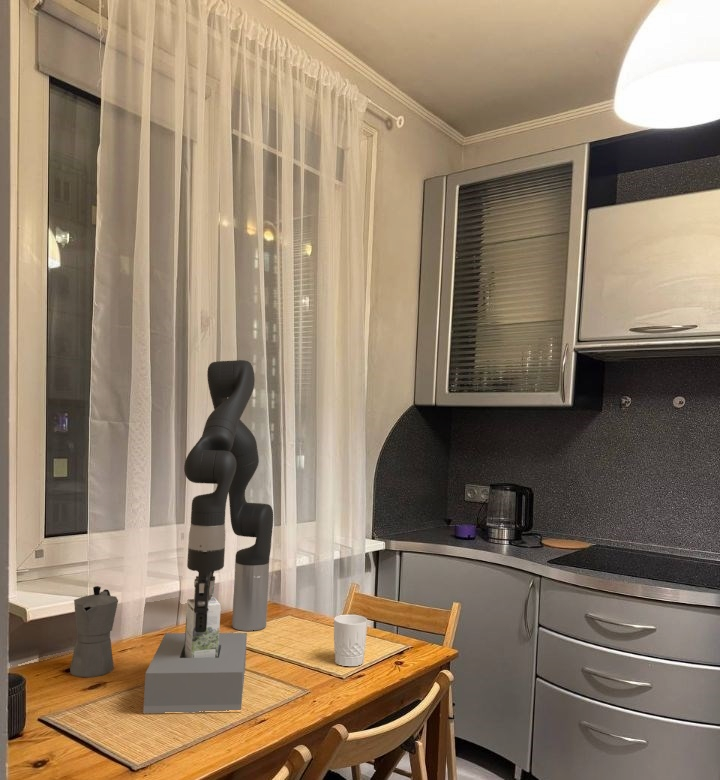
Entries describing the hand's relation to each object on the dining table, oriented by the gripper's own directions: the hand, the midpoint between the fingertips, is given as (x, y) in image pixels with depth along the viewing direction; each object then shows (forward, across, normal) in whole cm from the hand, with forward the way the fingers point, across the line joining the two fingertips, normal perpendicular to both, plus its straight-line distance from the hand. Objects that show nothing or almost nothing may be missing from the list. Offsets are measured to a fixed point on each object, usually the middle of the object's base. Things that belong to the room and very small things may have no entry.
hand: (202, 625), depth 136 cm
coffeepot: (+13, -12, -24) cm, 30 cm away
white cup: (+13, -14, +33) cm, 38 cm away
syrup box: (+10, 0, 0) cm, 10 cm away
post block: (+13, 0, 0) cm, 13 cm away
